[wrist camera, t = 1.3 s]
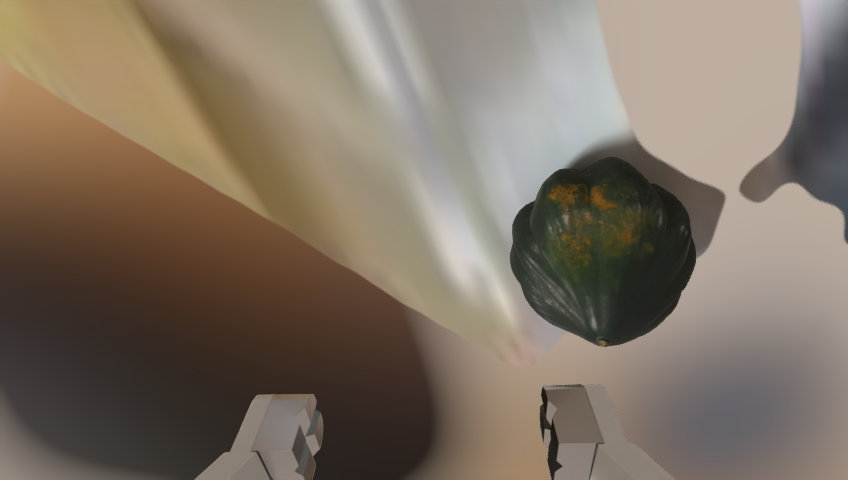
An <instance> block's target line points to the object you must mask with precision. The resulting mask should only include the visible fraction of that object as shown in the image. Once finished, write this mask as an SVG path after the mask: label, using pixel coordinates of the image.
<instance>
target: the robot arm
mask: <svg viewBox="0 0 848 480" xmlns="http://www.w3.org/2000/svg"><path fill="white" fill-rule="evenodd" d="M541 397H542V402H543V404H542V405H541V406H540V428H541V434H542V439H543V444H544V445H545V446H546V447H547V448H548V458H547V462H548V466H549V471H550V475H551V479H552V480H675V479H674V478H673V477H672V476H671V475H669V474H668V473H667V472H666V471H665V470H664V469H662V468H661V467H660V466H659V465H658V464H657V463H656V462H655V461H654V460H652V459H651V458H650V457H649V456H648V455H647V454H646V453H644V452H643V451H642V450H641V449H640V448H639V447H638V446H636V445H635V444H634V443H628V442H627V440H626V437H625V435H624V433H623V430H622V428H621V425H620V423H619V420H618V417H617V415H616V413H615V410H614V408H613V405H612V403H611V400H610V398H609V395H608V393H607V391H606V388H605V387H604V386H603V384H590V385H581V384H578V385H556V386H543V387H542V391H541ZM315 406H316V399H315V397H314V394H284V395H276V394H275V395H257V396H256V397H255V399H253V401H252V403H251V405H250V407H249V410H248V412H247V414H246V417H245V419H244V421H243V423H242V426H241V428H240V430H239V433H238V435H237V437H236V440H235V442H234V444H233V446H232V449H231V451H230V452H225V453H223V454H222V455H221V456H220V457H219V458H218V459H217V460H216V461H215V462H214V463H212V464H211V465H210V466H209V467H208V468H207V469H206V470H205V471H204V472H203V473H201V474H200V475H199V476H198V477H197V478H196V479H195V480H312V478H313V474H314V470H315V466H316V465H315V462H314V460H313V456H314V454H315V453H316V452H317V451H318V450H319V449H320V446H321V442H322V435H323V422H322V417H321V414H320V412H319V411H317V410H316V409H315Z"/></svg>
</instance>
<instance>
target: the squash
mask: <svg viewBox="0 0 848 480" xmlns="http://www.w3.org/2000/svg"><path fill="white" fill-rule="evenodd" d="M512 235H513V245H512V249H511V253H510V263H511V268H512V271H513V273H514V275H515V277H516V278H517V280H518V282H519V283H520V284H521V287H522V290H523V293H524V296H525V298H526V300H527V301H528V303H529V304H530V306H531V307H532V308H533V309H534V310H535V311H536V313H537V314H539V315H540V316H541V317H542V318H543V319H545V320H546V321H548V322H549V323H551V324H552V325H554V326H557V327H559V328H561V329H564V330H566V331H568V332H571V333H573V334H575V335H578V336H580V337H582V338H584V339H585V340H587V341H589V342H591V343H593V344H595V345H598V346H604V347H607V346H613V345H620V344H623V343H626V342H629V341H631V340H634V339H636V338H638V337H640V336H643V335H645V334H647V333H648V332H650V331H652V330H653V329H654V328H656V327H657V326H658V325H659V324H660V323H661V322H663V321H664V320H665V318H666V317H667V316H668V315H670V314H671V313H672V311H673V310H674V309H675V307H676V306H677V303H678V301H679V298H680V296H681V292H682V290H684V288H685V287H686V285H687V283H688V282H689V279H690V276H691V275H692V272H693V270H694V267H695V263H696V250H695V245H694V242H693V239H692V237H691V228H690V219H689V216H688V213H687V211H686V209H685V208H684V206H683V205H682V203H681V202H680V201H679V200H678V199H677V198H676V197H675V196H674V195H672V194H671V193H670V192H668V191H666V190H665V189H663V188H662V187H660V186H658V185H655V184H651V183H649V182H648V181H647V180H646V178H644V177H643V176H642V175H641V174H640V173H639V172H638V171H637V170H636V169H635V168H633V167H632V166H631V165H630V164H628V163H627V162H625V161H623V160H620V159H618V158H614V157H609V158H605V159H601V160H599V161H598V162H596V163H594V164H592V165H591V166H589V167H588V168H587V169H586V170H585V171H584V172H583V173H581V172H578V171H576V170H572V169H560V170H558V171H556V172H554V173H553V174H552V175H551V176H550V177H549V178H548V179H547V180H546V181H545V182H544V183H543V184H542V186H541V188H540V190H539V192H538V195H537V197H536V200H535V201H533V202H531V203H529V204H527V205H525V206H524V207H523V208H522V209H521V210H520V211H519V213H518V214H517V215H516V217H515V219H514V222H513V225H512Z"/></svg>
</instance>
